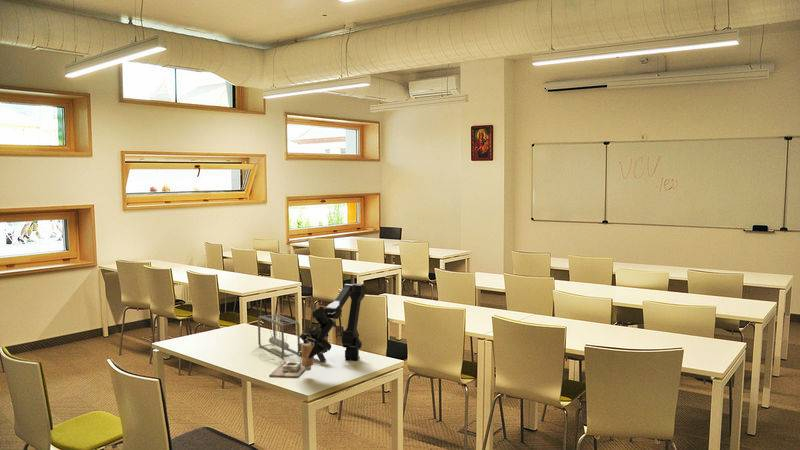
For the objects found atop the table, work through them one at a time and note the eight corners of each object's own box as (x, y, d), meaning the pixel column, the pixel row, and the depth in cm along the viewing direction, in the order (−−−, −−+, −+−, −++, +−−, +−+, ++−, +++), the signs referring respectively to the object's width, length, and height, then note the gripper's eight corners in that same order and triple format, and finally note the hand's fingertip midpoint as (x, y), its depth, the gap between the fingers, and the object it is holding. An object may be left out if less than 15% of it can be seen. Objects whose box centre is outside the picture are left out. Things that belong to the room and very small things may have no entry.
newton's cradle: (300, 355, 322) (299, 322, 321) (282, 358, 316) (281, 325, 315) (275, 343, 346) (274, 312, 345) (258, 346, 340) (257, 315, 338)
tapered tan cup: (315, 368, 288) (314, 343, 287) (312, 371, 282) (311, 346, 281) (303, 367, 288) (303, 343, 288) (300, 371, 283) (300, 346, 282)
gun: (326, 361, 306) (323, 341, 307) (299, 362, 324) (296, 343, 325) (330, 360, 308) (327, 341, 308) (303, 361, 325) (300, 342, 326)
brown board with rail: (311, 364, 305) (311, 357, 305) (298, 377, 284) (298, 370, 283) (284, 363, 307) (284, 356, 307) (269, 376, 286) (269, 369, 285)
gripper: (302, 316, 293) (283, 343, 286) (326, 322, 280) (306, 351, 273) (315, 329, 299) (297, 356, 292) (339, 336, 286) (321, 364, 279)
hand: (305, 356), depth 284 cm, fingers closed on tapered tan cup, 6 cm apart
